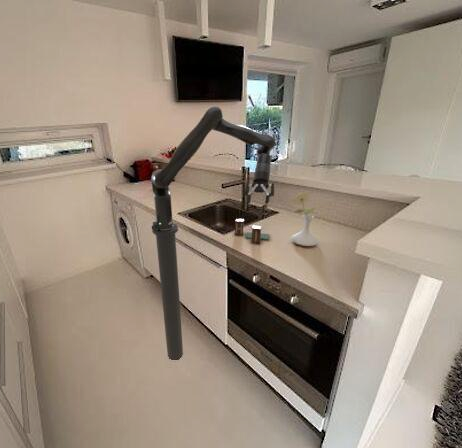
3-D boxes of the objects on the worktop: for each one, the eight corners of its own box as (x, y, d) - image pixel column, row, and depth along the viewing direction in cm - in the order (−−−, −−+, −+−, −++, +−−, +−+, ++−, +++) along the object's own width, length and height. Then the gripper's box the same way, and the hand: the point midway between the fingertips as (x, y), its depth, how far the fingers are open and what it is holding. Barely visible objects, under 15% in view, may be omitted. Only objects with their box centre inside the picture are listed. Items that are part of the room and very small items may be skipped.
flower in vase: (314, 238, 121) (322, 189, 111) (319, 249, 110) (329, 195, 101) (286, 236, 124) (292, 188, 114) (289, 247, 114) (295, 195, 104)
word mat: (245, 238, 124) (246, 237, 124) (246, 233, 129) (247, 232, 129) (268, 240, 121) (268, 239, 121) (268, 235, 126) (268, 234, 126)
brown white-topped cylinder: (251, 243, 119) (252, 228, 116) (251, 240, 122) (252, 225, 119) (259, 244, 117) (261, 229, 114) (260, 241, 121) (261, 226, 118)
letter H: (234, 235, 128) (235, 221, 125) (235, 232, 131) (236, 218, 128) (242, 236, 127) (243, 221, 124) (243, 233, 130) (243, 219, 127)
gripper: (246, 170, 126) (241, 199, 123) (275, 169, 119) (271, 201, 116) (249, 177, 132) (245, 205, 129) (277, 176, 126) (273, 206, 122)
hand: (257, 203), depth 122 cm, fingers open, 8 cm apart
